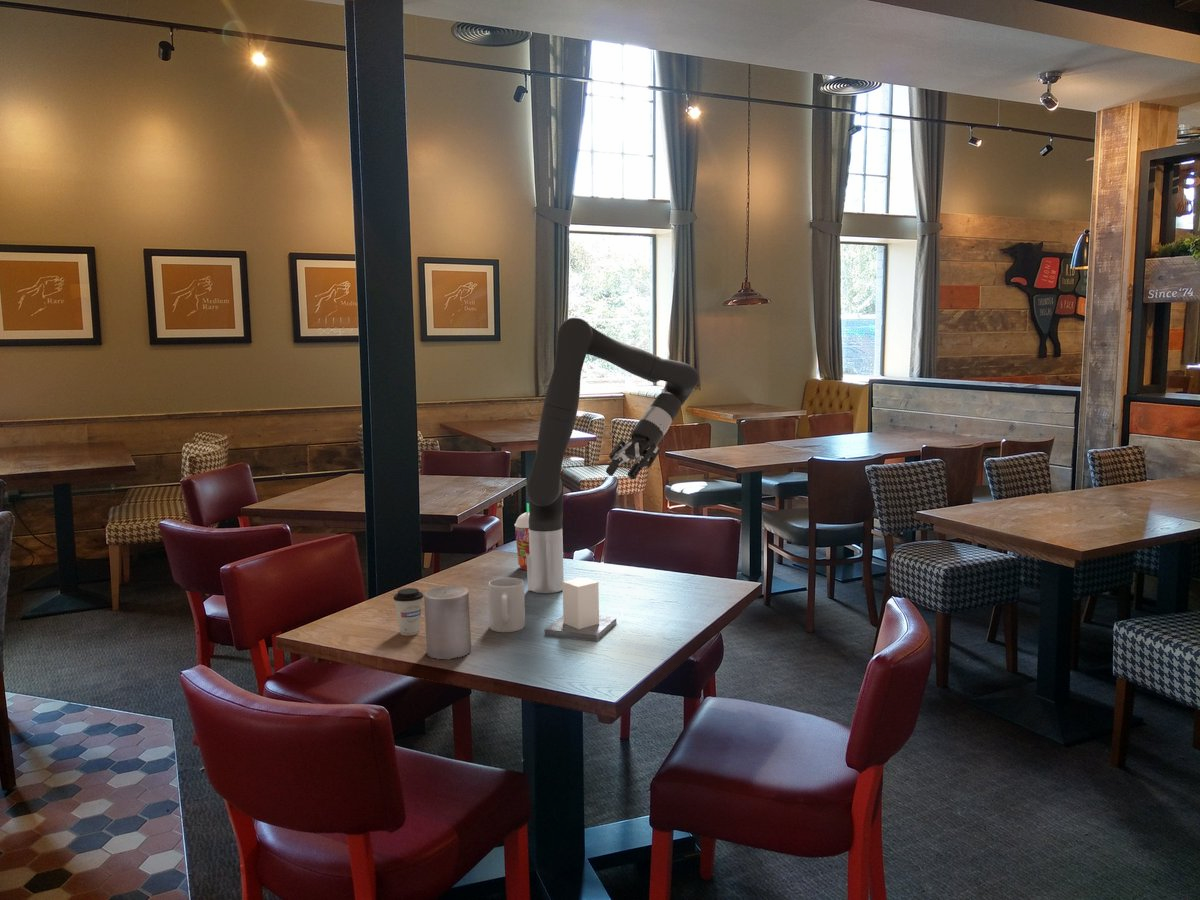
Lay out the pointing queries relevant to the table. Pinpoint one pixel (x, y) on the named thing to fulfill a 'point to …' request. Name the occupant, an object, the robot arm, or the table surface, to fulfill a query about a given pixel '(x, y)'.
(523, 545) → the smoothie
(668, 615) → the table surface
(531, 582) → the robot arm
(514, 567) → the table surface
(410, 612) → the coffee cup
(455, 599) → the pillar candle
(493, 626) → the mug
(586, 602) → the white rectangular block
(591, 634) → the base plate
